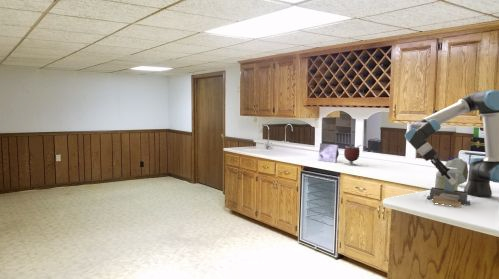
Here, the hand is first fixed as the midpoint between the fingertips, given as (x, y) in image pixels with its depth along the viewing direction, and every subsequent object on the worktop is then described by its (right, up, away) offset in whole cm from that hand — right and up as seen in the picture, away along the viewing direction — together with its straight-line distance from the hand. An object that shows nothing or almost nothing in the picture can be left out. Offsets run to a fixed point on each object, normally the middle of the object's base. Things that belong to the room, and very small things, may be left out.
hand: (455, 182), depth 211 cm
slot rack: (-3, -11, +2) cm, 11 cm away
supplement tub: (+4, -10, +19) cm, 22 cm away
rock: (+33, -9, +63) cm, 71 cm away
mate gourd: (-17, -1, +151) cm, 152 cm away
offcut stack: (-9, -11, -8) cm, 16 cm away
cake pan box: (-36, +1, +169) cm, 173 cm away
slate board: (-3, -11, +2) cm, 11 cm away
